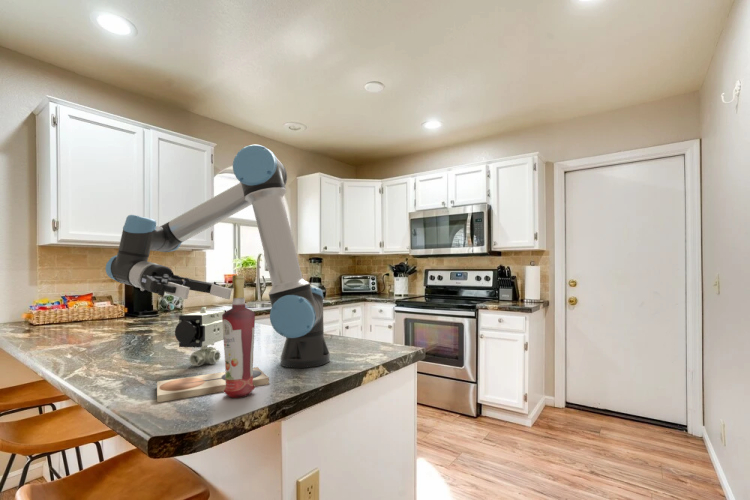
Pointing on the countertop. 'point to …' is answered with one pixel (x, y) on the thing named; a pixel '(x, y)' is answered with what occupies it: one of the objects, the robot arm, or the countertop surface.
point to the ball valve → (201, 334)
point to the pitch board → (200, 385)
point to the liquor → (238, 343)
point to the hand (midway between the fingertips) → (210, 293)
